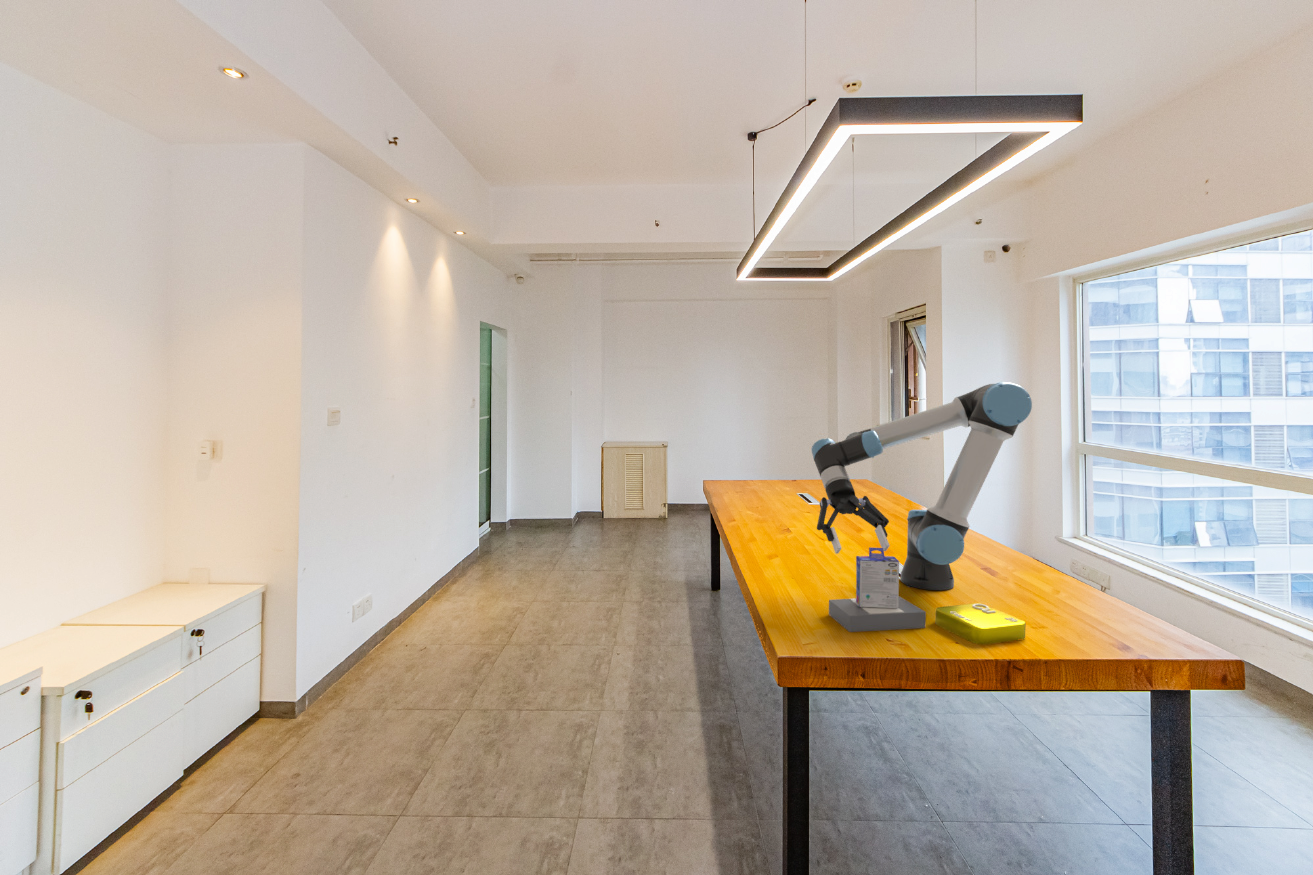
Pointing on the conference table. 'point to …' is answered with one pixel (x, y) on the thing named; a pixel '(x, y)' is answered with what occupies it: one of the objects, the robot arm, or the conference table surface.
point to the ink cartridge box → (877, 580)
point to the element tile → (980, 623)
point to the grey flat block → (876, 616)
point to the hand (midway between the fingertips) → (862, 549)
